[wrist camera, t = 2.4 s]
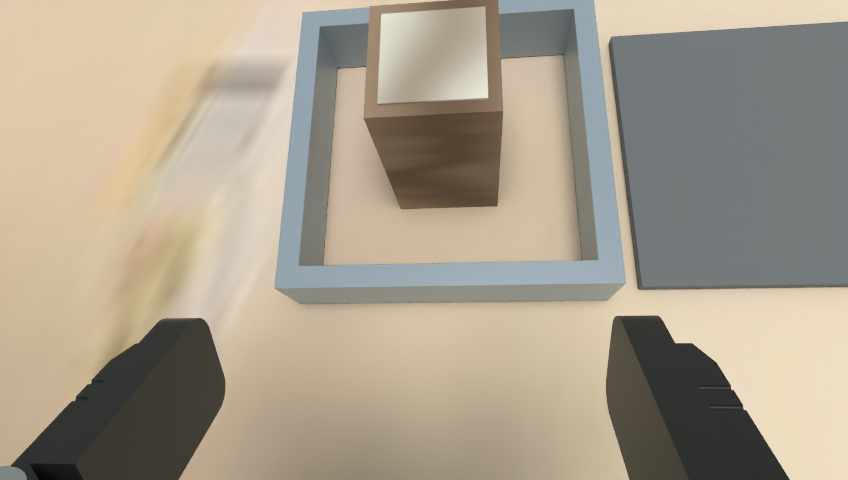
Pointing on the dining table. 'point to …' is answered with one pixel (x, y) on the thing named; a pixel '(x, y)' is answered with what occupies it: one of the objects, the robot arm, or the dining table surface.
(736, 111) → the rubber mat
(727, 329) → the dining table surface
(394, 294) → the grey bin
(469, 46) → the walnut box
